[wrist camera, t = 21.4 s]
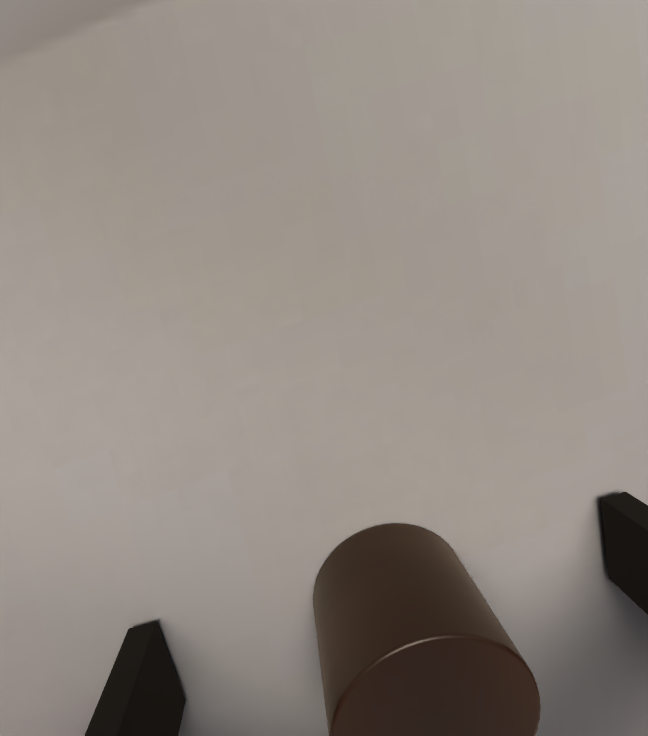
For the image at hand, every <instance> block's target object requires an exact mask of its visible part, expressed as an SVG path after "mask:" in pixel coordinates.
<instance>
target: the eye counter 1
mask: <svg viewBox="0 0 648 736" xmlns="http://www.w3.org/2000/svg"><path fill="white" fill-rule="evenodd" d="M313 607H314V615H315V624H316V632H317V640H318V649H319V657H320V666H321V674H322V682H323V691H324V699H325V708H326V716H327V724H328V733H329V736H535V734H536V732H537V728H538V724H539V719H540V696H539V692H538V687H537V683H536V681H535V678H534V676H533V674H532V672H531V670H530V669H529V667H528V666H527V664H526V662H525V661H524V659H523V658H522V656H521V655H520V653H519V652H518V650H517V648H516V647H515V645H514V644H513V642H512V641H511V639H510V638H509V636H508V634H507V633H506V631H505V630H504V628H503V627H502V625H501V624H500V622H499V620H498V619H497V617H496V616H495V614H494V613H493V611H492V610H491V608H490V607H489V605H488V603H487V602H486V600H485V599H484V597H483V596H482V594H481V593H480V591H479V589H478V588H477V586H476V585H475V583H474V582H473V580H472V579H471V577H470V575H469V574H468V572H467V571H466V569H465V568H464V566H463V565H462V563H461V561H460V560H459V558H458V557H457V555H456V554H455V552H454V551H453V549H452V548H451V547H450V546H449V545H448V543H446V542H445V541H444V540H443V539H442V538H441V537H439V536H438V535H436V534H434V533H433V532H431V531H428V530H426V529H424V528H421V527H417V526H414V525H408V524H385V525H380V526H375V527H372V528H369V529H366V530H363V531H361V532H359V533H357V534H355V535H353V536H352V537H350V538H349V539H347V540H346V541H344V542H343V543H342V544H341V545H339V546H338V547H337V548H336V549H335V550H334V551H333V552H332V553H331V555H330V556H329V557H328V558H327V560H326V561H325V563H324V565H323V566H322V568H321V570H320V572H319V574H318V577H317V579H316V583H315V587H314V594H313Z"/></svg>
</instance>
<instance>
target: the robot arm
mask: <svg viewBox="0 0 648 736" xmlns="http://www.w3.org/2000/svg"><path fill="white" fill-rule="evenodd" d="M601 505H602V515H603V525H604V535H605V545H606V555H607V565H608V575H609V579H610V580H611V581H612V582H613V583H614V584H615V585H616V586H618V587H619V588H620V589H621V590H622V591H623V592H624V593H625V594H626V595H627V596H628V597H630V598H631V599H632V600H633V601H634V602H635V603H636V604H637V605H638V606H639V607H640V608H642V609H643V610H644V611H645V612H646V613H647V614H648V505H646V504H644V503H643V502H641V501H640V500H638V499H636V498H635V497H633V496H632V495H630V494H628V493H627V492H622V493H619V494H615V495H612V496H608V497H604V498H601ZM185 701H186V699H185V696H184V694H183V691H182V689H181V686H180V683H179V681H178V678H177V675H176V673H175V670H174V667H173V665H172V662H171V659H170V657H169V654H168V651H167V649H166V646H165V643H164V641H163V638H162V635H161V633H160V630H159V627H158V625H157V622H152V623H148V624H145V625H141V626H137V627H134V628H130V629H128V632H127V634H126V636H125V639H124V641H123V644H122V646H121V649H120V651H119V653H118V656H117V658H116V661H115V663H114V666H113V668H112V670H111V673H110V675H109V678H108V680H107V683H106V685H105V687H104V690H103V692H102V695H101V697H100V700H99V702H98V704H97V707H96V709H95V712H94V714H93V716H92V719H91V721H90V724H89V726H88V729H87V731H86V733H85V736H178V734H179V729H180V725H181V720H182V715H183V710H184V706H185Z"/></svg>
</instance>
